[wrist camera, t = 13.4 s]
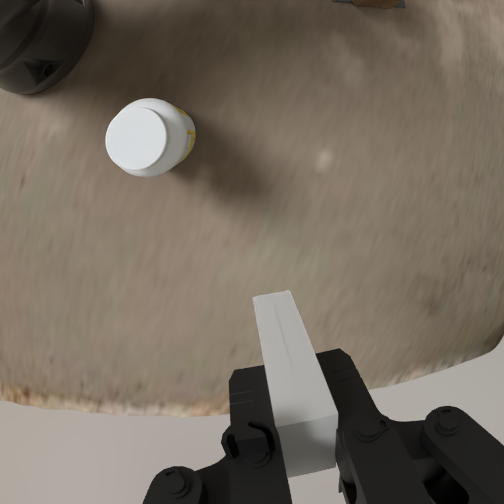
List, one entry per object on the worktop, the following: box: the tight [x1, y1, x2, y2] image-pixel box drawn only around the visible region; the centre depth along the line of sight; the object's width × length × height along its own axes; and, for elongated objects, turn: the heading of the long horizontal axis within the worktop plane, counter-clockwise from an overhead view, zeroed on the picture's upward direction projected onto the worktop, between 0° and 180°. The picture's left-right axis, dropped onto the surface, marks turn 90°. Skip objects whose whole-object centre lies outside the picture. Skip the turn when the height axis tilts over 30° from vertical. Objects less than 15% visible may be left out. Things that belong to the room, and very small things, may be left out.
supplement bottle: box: [106, 98, 196, 177], centre depth 27 cm, size 7×7×13 cm
